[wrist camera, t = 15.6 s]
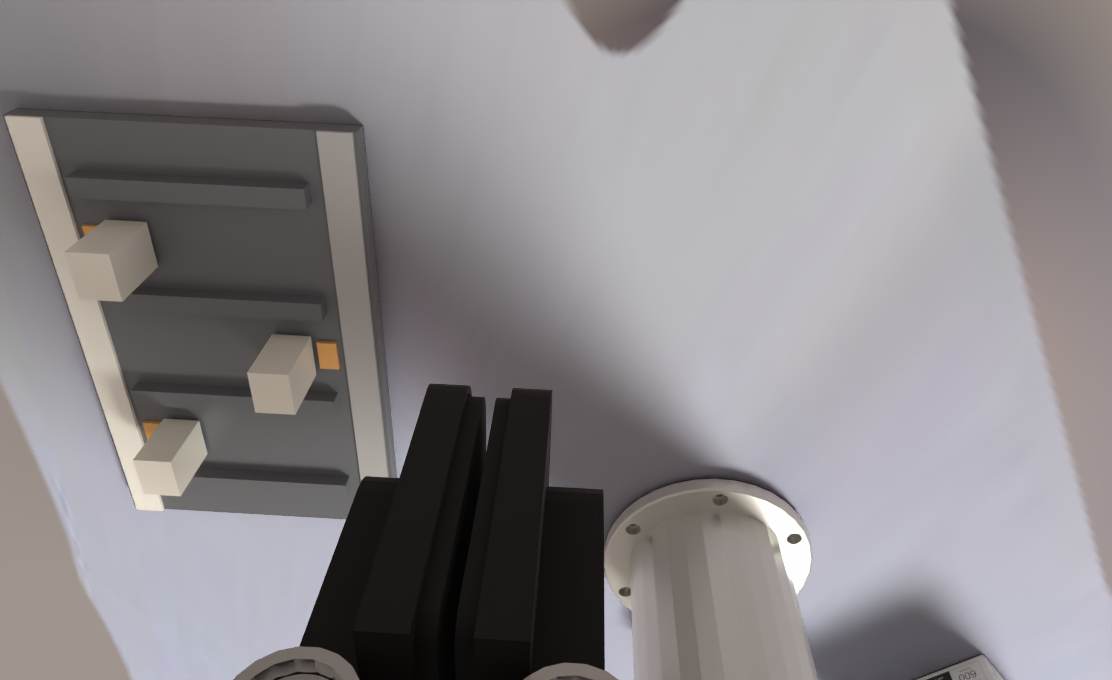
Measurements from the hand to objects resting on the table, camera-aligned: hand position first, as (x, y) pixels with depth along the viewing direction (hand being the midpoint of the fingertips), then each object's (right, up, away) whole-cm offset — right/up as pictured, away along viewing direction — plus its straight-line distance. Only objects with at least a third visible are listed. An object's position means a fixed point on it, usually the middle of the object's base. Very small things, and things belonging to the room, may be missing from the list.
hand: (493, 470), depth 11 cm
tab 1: (-20, +7, +28) cm, 35 cm away
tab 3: (-13, +1, +31) cm, 33 cm away
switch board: (-16, +2, +32) cm, 36 cm away
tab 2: (-20, -4, +34) cm, 40 cm away
